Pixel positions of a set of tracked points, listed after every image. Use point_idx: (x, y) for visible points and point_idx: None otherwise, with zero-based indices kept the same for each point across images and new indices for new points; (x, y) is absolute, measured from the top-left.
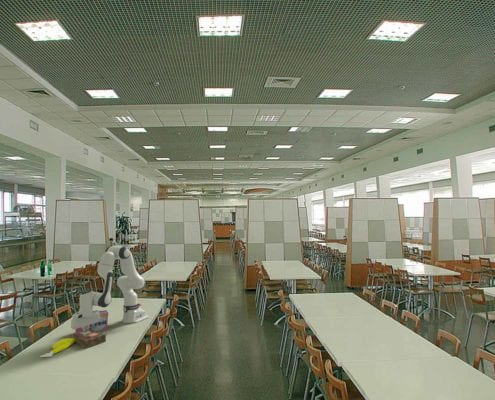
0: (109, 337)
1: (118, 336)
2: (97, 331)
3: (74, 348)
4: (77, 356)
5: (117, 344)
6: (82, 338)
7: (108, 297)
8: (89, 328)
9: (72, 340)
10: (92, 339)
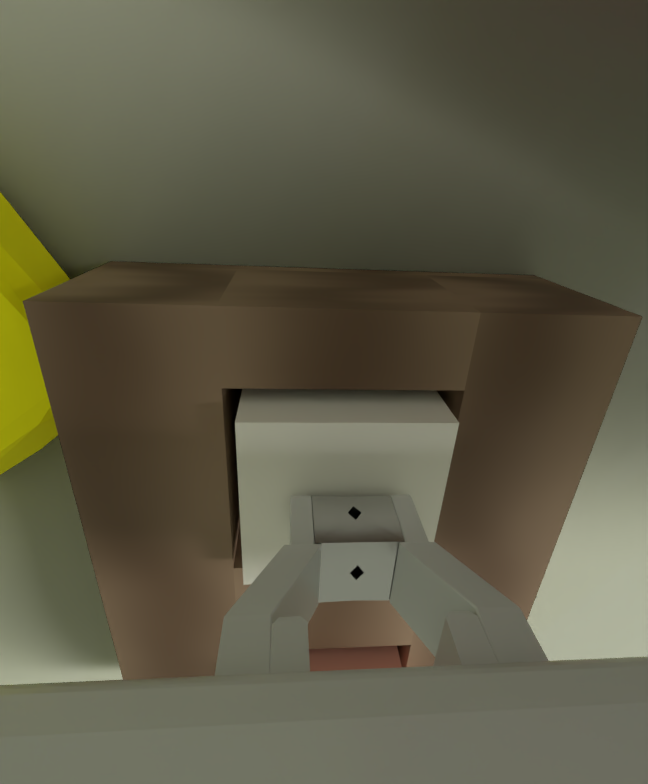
0: (564, 582)
1: (625, 630)
2: (538, 581)
3: (47, 562)
4: None
5: None
6: (138, 676)
7: None
8: None
9: (22, 442)
10: None
